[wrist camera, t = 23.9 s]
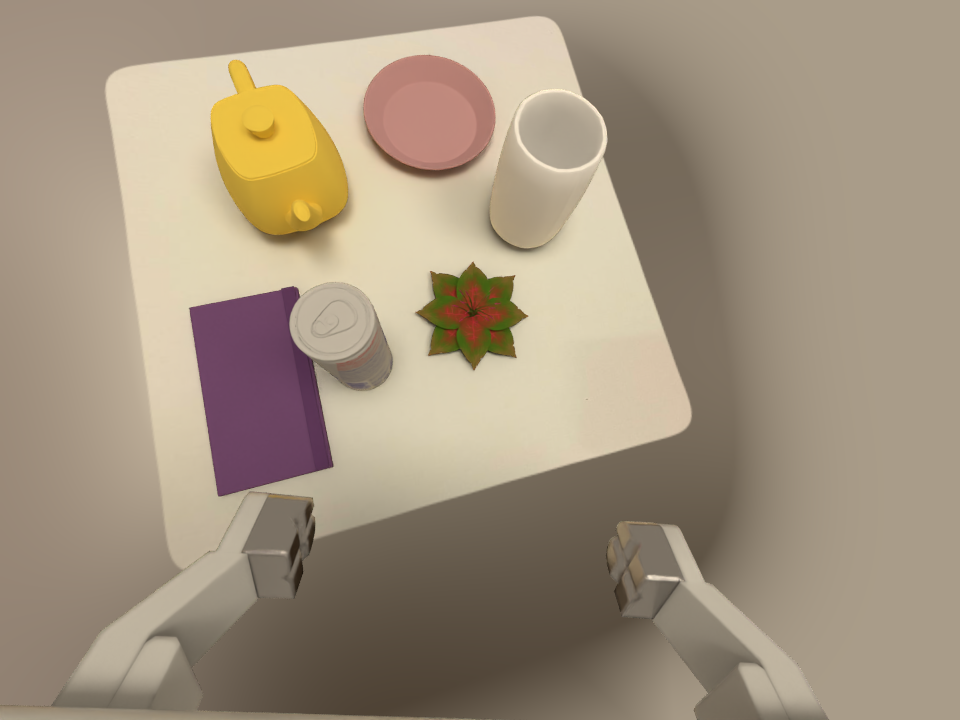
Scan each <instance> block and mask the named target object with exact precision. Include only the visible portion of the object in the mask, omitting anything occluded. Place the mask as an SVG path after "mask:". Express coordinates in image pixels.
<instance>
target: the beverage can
mask: <svg viewBox="0 0 960 720" xmlns="http://www.w3.org/2000/svg"><path fill="white" fill-rule="evenodd" d="M289 325H290V332H291V336H292V338H293V340H294V342H295V344H296V345H297V346H298V348H299V349H300V350H301V351H303V352H304V353H305V354H306V355H307V356H308V357H310V358H311V359H312V360H314V361H315V362H316V363H317V364H319V365H320V366H321V367H323V368H324V369H325V370H326V371H328V372H329V373H330V374H332V375H333V376H334V377H336V378H337V379H338V380H339V381H341V382H342V383H343V384H345V385H346V386H348V387H350V388H352V389H355V390H370V389H373V388H375V387H377V386H379V385H380V384H382V383H383V382H384V381H385V380H386V379H387V377H388V376H389V374H390V372H391V369H392V363H393V360H392V354H391V351H390V349H389V346H388V344H387V341H386V338H385V336H384V333H383V330H382V328H381V325H380V322H379V320H378V317H377V314H376V312H375V310H374V307H373V305H372V304H371V302H370V300H369V299H368V297H367V296H366V295H365V294H364V293H363V292H362V291H360V290H359V289H358V288H356V287H354V286H352V285H349V284H346V283H340V282H330V283H324V284H321V285H318V286H315V287H313V288H312V289H310V290H308V291H307V292H305V293H304V294H303V295H302V296H301V297H300V298H299V299H298V301H297V302H296V303H295V305H294V307H293V309H292V312H291V315H290V322H289Z"/></svg>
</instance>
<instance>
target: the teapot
mask: <svg viewBox="0 0 960 720" xmlns="http://www.w3.org/2000/svg"><path fill="white" fill-rule="evenodd" d="M228 69H229V73H230V76H231V78H232V81H233V83H234V86H235V88H236V90H237V93H238V94H235V95H233V96H230V97H227V98H225V99H222V100H220V101H218V102H217V103H216V104H215V105H214V106H213V108H212V110H211V130H212V137H213V145H214V150H215V156H216V161H217V164H218V168H219V171H220V174H221V176H222V179H223V181H224V184H225V186H226V188H227V190H228V192H229V194H230V195H231V197H232V199H233V200H234V202H235V204H236V205H237V206H238V208H239V209H240V211H241V212H242V213H243V215H244V216H245V217H246V218H247V219H248V220H249V221H250V222H251V223H252V224H253V225H254V226H255V227H256V228H258V229H259V230H261V231H262V232H265V233H268V234H273V235H283V234H288V233H293V232H296V231H308V230H311V229H313V228H315V227H317V226H318V225H319V224H320V223H322V222H324V221H326V220H329V219H331V218H332V217H334V216H336V215H337V214H338V213H340V212H341V211H342V209H343V208H344V207H345V205H346V202H347V198H348V184H347V177H346V173H345V169H344V166H343V163H342V160H341V157H340V155H339V153H338V150H337V148H336V146H335V145H334V143H333V141H332V139H331V137H330V136H329V134H328V133H327V131H326V129H325V128H324V127H323V125H322V124H321V123H320V121H319V120H318V119H317V118H316V116H315V115H314V114H313V113H312V112H311V111H310V109H309V108H308V107H307V106H306V105H305V104H304V103H303V102H302V101H301V100H300V99H299V98H298V97H297V96H296V95H295V94H294V93H293V92H292V91H290V90H289V89H288V88H286V87H284V86H281V85H270V86H265V87H260V88H256V87H255V84H254V82H253V80H252V78H251V76H250V73H249V71H248V69H247V67H246V66H245V64H244V63H243V62H241V61H240V60H233V61H231V62H230V63H229V65H228Z"/></svg>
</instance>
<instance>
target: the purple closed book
mask: <svg viewBox="0 0 960 720" xmlns="http://www.w3.org/2000/svg"><path fill="white" fill-rule="evenodd" d="M299 298H300V296H299V291H298V288H297V287H295V288H294V286H292V287H287V288H282V289H281V290H279V291H274V292H269V293H263V294H258V295H253V296H248V297H243V298H237V299H232V300H227V301H222V302H217V303H211V304H206V305H201V306H196V307H191V308H189V309H190V316H191V322H192V329H193V335H194V342H195V348H196V355H197V361H198V368H199V374H200V381H201V387H202V394H203V400H204V407H205V413H206V420H207V426H208V433H209V439H210V446H211V452H212V459H213V465H214V472H215V478H216V485H217V491H218V496H223V495H227V494H231V493H235V492H238V491H242V490H246V489H250V488H254V487H258V486H261V485H265V484H269V483H273V482H277V481H281V480H284V479H288V478H292V477H296V476H300V475H304V474H307V473H311V472H315V471H319V470H323V469H327V468H330V467H333V462H332V457H331V452H330V447H329V442H328V437H327V432H326V427H325V422H324V417H323V412H322V407H321V402H320V397H319V392H318V387H317V381H316V376H315V371H314V366H313V361H312V359H311V358H310V357H308V356H307V355H306V354H305V353H304V352H303V351H301V350H300V349H299V348H298V346H297V345H296V344H295V342H294V340H293V338H292V336H291V332H290V325H289V322H290V315H291V312H292V309H293V307H294V305H295V303H296V302H297V301H298V299H299Z"/></svg>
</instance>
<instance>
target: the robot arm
mask: <svg viewBox="0 0 960 720" xmlns="http://www.w3.org/2000/svg"><path fill="white" fill-rule="evenodd" d="M313 507H314V503H313V498H311V497H301V496H291V495H281V494H272V493H261V492H249V493H248V494H247V495H246V496H245V497H244V499H243V501H242V503H241V505H240V506H239V508H238V510H237V512H236V514H235V516H234V518H233V520H232V522H231V523H230V525H229V527H228V529H227V531H226V533H225V535H224V537H223V539H222V540H221V542H220V544H219V546H218V548H217V550H216V551H209V552H207V553H206V554H205V555H203V556H202V557H201V558H199V559H198V560H196V561H195V562H194V563H192V564H191V565H190V566H188V567H187V568H186V569H184V570H183V571H182V572H180V573H179V574H178V575H176V576H175V577H173V578H172V579H171V580H170V581H168V582H167V583H165V584H164V585H163V586H161V587H160V588H158V589H157V590H156V591H154V592H153V593H152V594H150V595H149V596H148V597H146V598H145V599H144V600H142V601H141V602H140V603H138V604H137V605H135V606H134V607H133V608H131V609H130V610H129V611H127V612H126V613H125V614H123V615H122V616H121V617H119V618H118V619H116V620H115V621H114V622H112V623H111V624H110V625H108V626H107V627H106V628H104V629H103V630H102V631H101V632H100V633H99V634H98V636H97V638H96V639H95V640H94V642H93V643H92V645H91V646H90V648H89V649H88V651H87V653H86V654H85V655H84V657H83V659H82V660H81V662H80V663H79V665H78V666H77V668H76V669H75V671H74V672H73V674H72V675H71V677H70V678H69V680H68V681H67V683H66V684H65V686H64V687H63V689H62V690H61V692H60V693H59V695H58V696H57V698H56V700H55V701H54V702H53V704H52V705H51V706H18V705H17V706H16V705H0V720H494V719H463V718H429V717H395V716H361V715H358V716H357V715H327V714H293V713H259V712H224V711H197V708H198V706H199V704H200V701H201V699H202V696H203V692H202V689H201V687H200V685H199V683H198V680H197V678H196V676H195V674H194V672H193V670H192V667H193V666H194V665H195V664H196V663H197V662H198V661H199V660H200V659H201V658H202V657H203V656H204V655H205V654H206V653H207V652H208V651H209V650H210V649H211V648H212V647H213V645H214V644H215V643H216V642H217V641H218V640H219V639H220V638H221V637H222V636H223V635H224V634H225V633H226V632H227V631H228V630H229V629H230V628H231V627H232V626H233V625H234V624H235V623H236V622H237V621H238V620H239V619H240V618H241V617H242V616H243V615H244V614H245V613H246V612H247V610H249V608H250V607H251V606H252V605H253V604H254V603H255V602H256V601H257V600H258V598H291V599H294V598H295V595H296V592H297V589H298V586H299V583H300V580H301V577H302V574H303V565H302V561H303V560H304V559H305V558H306V557H307V556H308V555H309V553H310V550H311V547H312V543H313V538H314V534H315V517H314V516H313V515H312V514H311V513H312V510H313ZM616 531H617V534H618V535H617V536H615V537H613V538H612V539H611V540H610V542H609V544H608V546H607V554H606V559H607V566H608V570H609V574H610V575H611V576H612V578H613V579H614V580H615V581H616V582H617V586H616V588H615V595H616V598H617V602H618V605H619V609H620V612H621V616H622V617H633V618H645V619H653V622H654V624H655V625H656V626H657V628H658V629H659V630H660V631H661V633H662V634H663V635H664V637H665V638H666V639H667V640H668V642H669V643H670V644H671V646H672V647H673V648H674V649H675V651H676V652H677V653H678V655H679V656H680V657H681V658H682V660H683V661H684V662H685V663H686V665H687V666H688V667H689V669H690V670H691V671H692V673H693V674H694V675H695V677H696V678H697V679H698V680H699V682H700V683H701V684H702V686H703V687H704V688H705V689H706V691H707V692H708V694H707V695H706V696H705V697H704V698H703V699H702V700H701V701H700V702H699V703H697V705H696V707H695V708H694V712H695V715H696V718H697V720H829V719H828V718H827V716H826V714H825V712H824V710H823V709H822V707H821V705H820V704H819V701H818V700H817V698H816V696H815V694H814V692H813V691H812V689H811V687H810V685H809V683H808V682H807V680H806V678H805V676H804V674H803V673H802V671H801V669H800V667H799V665H798V664H797V663H796V662H795V661H794V660H793V659H792V658H791V657H790V656H789V655H788V654H786V653H785V652H784V651H783V650H782V649H781V648H780V647H779V646H778V645H777V644H776V643H775V642H774V641H772V640H771V639H770V638H769V637H768V636H767V635H766V634H765V633H764V632H763V631H762V630H760V629H759V628H758V627H757V626H756V625H755V624H754V623H753V622H752V621H751V620H750V619H749V618H748V617H747V616H745V615H744V614H743V613H742V612H741V611H740V610H739V609H738V608H737V607H736V606H735V605H734V604H732V603H731V602H730V601H729V600H728V599H727V598H726V597H725V596H724V595H723V594H722V593H721V592H720V591H718V590H717V589H716V588H715V587H714V586H713V585H712V584H711V583H705V581H704V579H703V577H702V575H701V572H700V571H699V568H698V566H697V564H696V562H695V560H694V558H693V556H692V553H691V551H690V549H689V547H688V545H687V543H686V541H685V539H684V537H683V534H682V532H681V530H680V529H679V528H678V527H677V526H676V525H669V524H656V523H648V522H631V521H622V522H620V523H619V524H618V526H617V528H616ZM495 720H496V719H495ZM497 720H498V719H497Z"/></svg>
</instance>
